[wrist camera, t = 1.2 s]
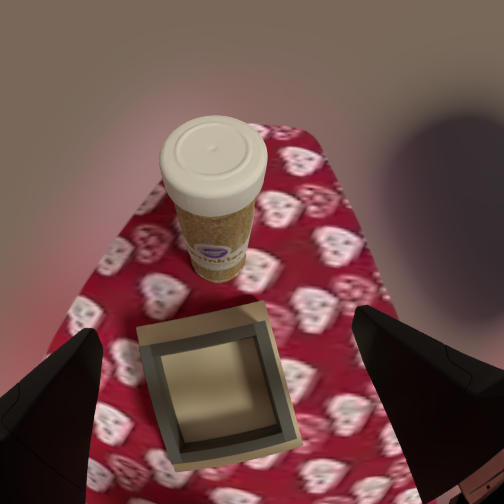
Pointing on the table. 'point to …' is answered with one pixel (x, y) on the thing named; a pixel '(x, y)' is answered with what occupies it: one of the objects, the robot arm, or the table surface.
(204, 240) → the sprinkles bottle
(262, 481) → the table surface
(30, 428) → the robot arm
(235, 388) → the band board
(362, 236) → the table surface
